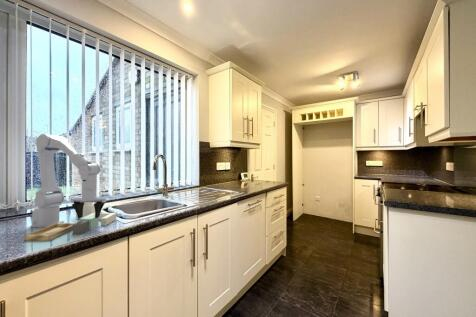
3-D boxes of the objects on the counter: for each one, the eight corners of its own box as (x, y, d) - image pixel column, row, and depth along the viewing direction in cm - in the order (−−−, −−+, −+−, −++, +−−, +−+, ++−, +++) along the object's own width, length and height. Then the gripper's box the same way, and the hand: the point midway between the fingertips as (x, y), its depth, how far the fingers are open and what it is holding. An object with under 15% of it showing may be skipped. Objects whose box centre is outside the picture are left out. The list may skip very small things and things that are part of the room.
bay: (80, 225, 100) (80, 218, 100) (92, 219, 110) (93, 213, 110) (106, 225, 101) (106, 218, 101) (116, 219, 111) (116, 212, 111)
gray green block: (70, 234, 88) (70, 223, 88) (87, 225, 100) (88, 215, 100) (82, 234, 89) (82, 223, 89) (98, 225, 101) (98, 215, 101)
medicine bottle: (80, 215, 116) (81, 194, 116) (95, 214, 119) (96, 194, 119) (75, 219, 110) (76, 197, 110) (91, 218, 112) (92, 196, 112)
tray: (23, 240, 81) (24, 235, 81) (56, 227, 97) (56, 222, 97) (51, 240, 82) (51, 235, 82) (78, 227, 98) (78, 222, 98)
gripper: (66, 190, 92) (66, 220, 92) (100, 190, 93) (100, 219, 93) (77, 187, 99) (76, 215, 99) (108, 188, 100) (108, 215, 100)
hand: (88, 217), depth 97 cm, fingers open, 7 cm apart
